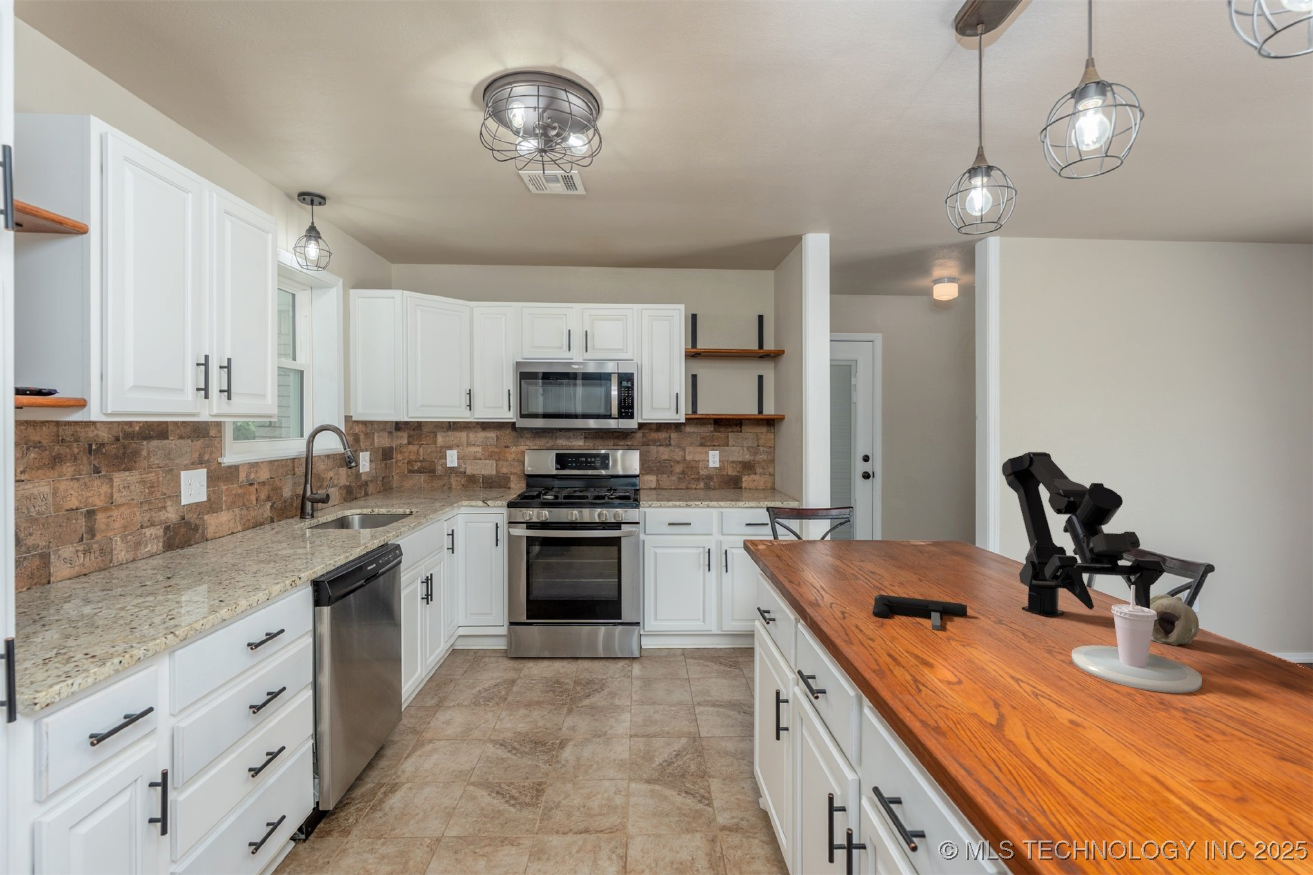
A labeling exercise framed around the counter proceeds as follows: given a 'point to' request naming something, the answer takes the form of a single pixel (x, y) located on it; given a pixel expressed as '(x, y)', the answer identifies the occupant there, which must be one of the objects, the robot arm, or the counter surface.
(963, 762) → the counter surface
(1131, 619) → the smoothie
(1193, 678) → the plate
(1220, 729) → the counter surface
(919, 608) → the door handle
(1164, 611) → the olive hollow round lump
